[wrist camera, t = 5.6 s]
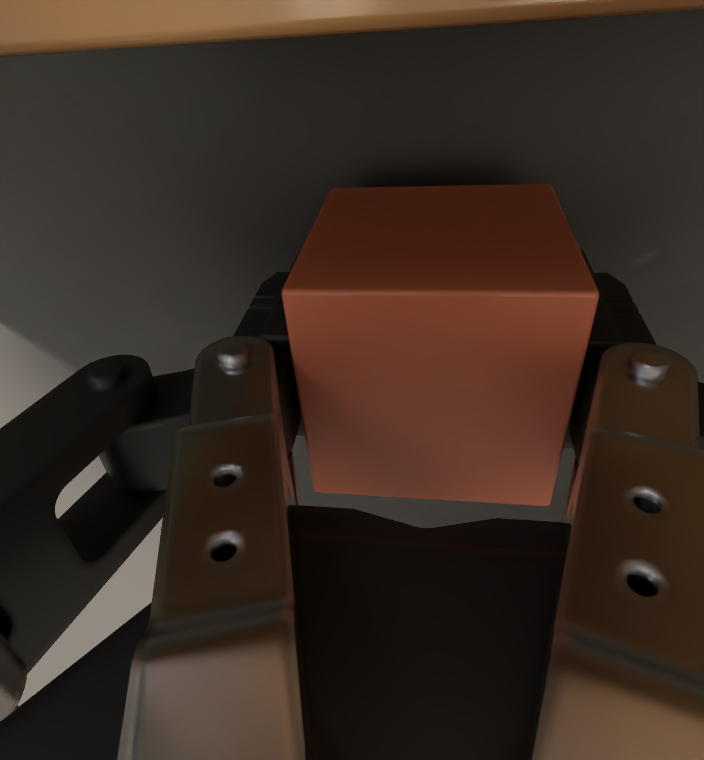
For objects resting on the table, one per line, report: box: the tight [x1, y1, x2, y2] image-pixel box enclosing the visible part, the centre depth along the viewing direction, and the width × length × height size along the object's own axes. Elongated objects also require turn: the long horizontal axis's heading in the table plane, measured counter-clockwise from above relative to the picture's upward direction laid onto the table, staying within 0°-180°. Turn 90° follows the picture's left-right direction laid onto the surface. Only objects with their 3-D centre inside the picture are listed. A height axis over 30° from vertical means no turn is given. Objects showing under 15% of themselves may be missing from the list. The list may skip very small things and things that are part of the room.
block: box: [282, 184, 599, 506], centre depth 11 cm, size 4×4×4 cm
